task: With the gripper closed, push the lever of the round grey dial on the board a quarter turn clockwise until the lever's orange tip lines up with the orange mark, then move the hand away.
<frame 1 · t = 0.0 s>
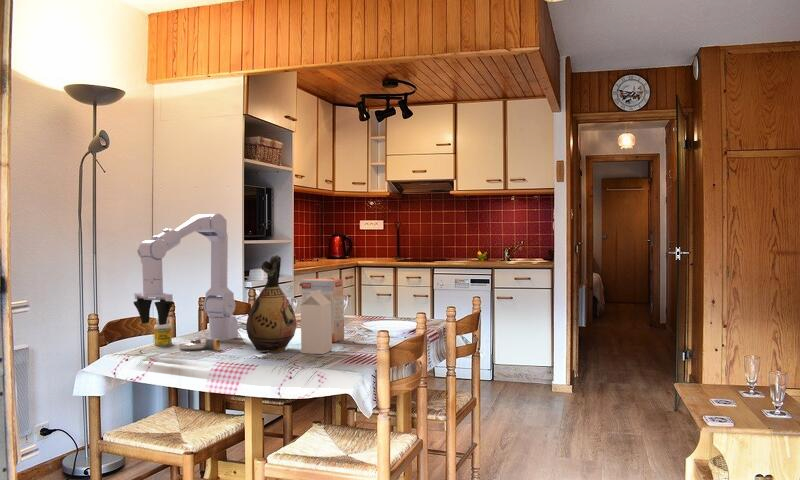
hand: (154, 323, 204), 10 cm above the table, tool pointing down, fingers open, 7 cm apart
dial: (201, 343, 212), point 3 cm above the table, hinge at 90.0°
cracker box: (323, 340, 229), on the table
milk carton: (316, 352, 207), on the table
ceramic jug: (272, 350, 212), on the table
board: (196, 351, 213), on the table
supplement bottle: (163, 347, 221), on the table
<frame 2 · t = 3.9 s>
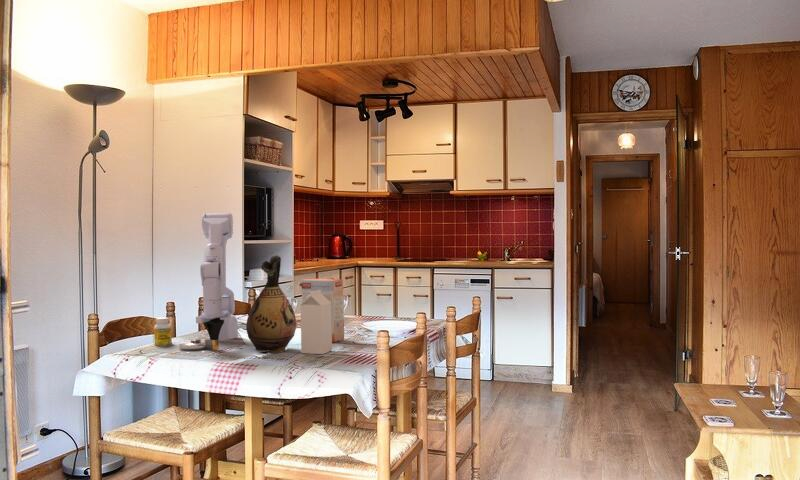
hand: (214, 343, 210), 3 cm above the table, tool pointing down, fingers closed, pressing on dial
dial: (200, 343, 211), point 3 cm above the table, hinge at 87.0°, touching gripper
everything else where it was.
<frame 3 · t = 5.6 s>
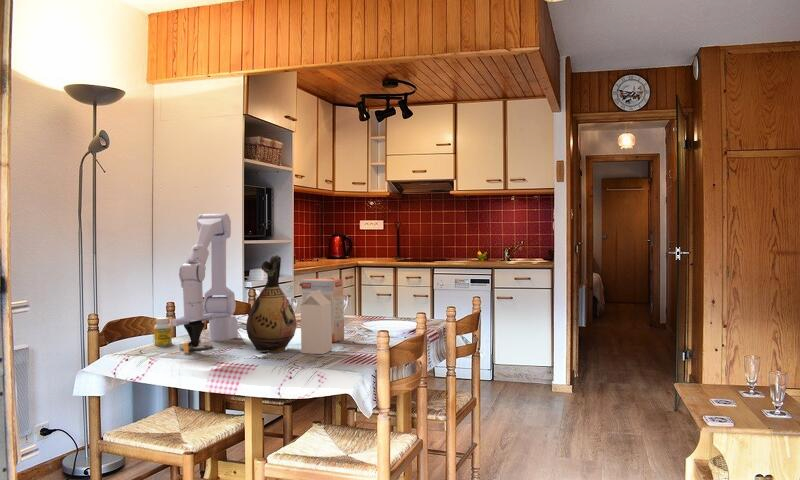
hand: (194, 346, 206), 3 cm above the table, tool pointing down, fingers closed, pressing on dial
dial: (193, 344, 210), point 3 cm above the table, hinge at 28.1°, touching gripper
everything else where it was.
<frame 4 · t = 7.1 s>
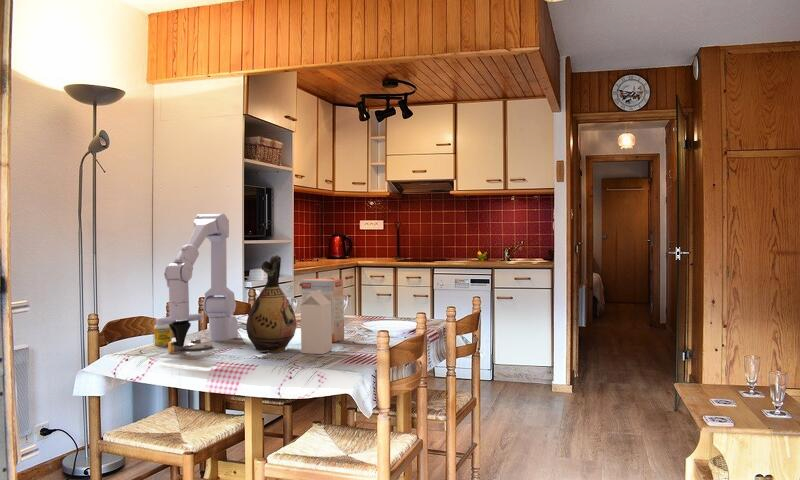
hand: (180, 346, 206), 3 cm above the table, tool pointing down, fingers closed, pressing on dial
dial: (189, 343, 211), point 3 cm above the table, hinge at -8.3°, touching gripper
everything else where it was.
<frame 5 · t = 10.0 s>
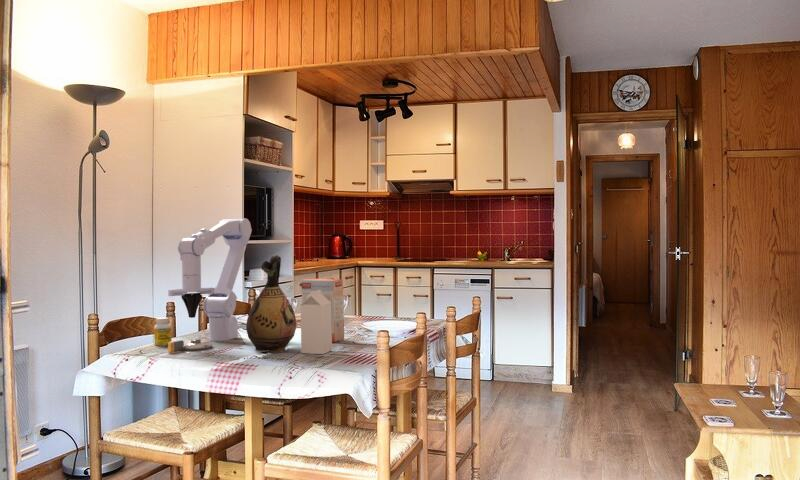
hand: (192, 317, 215), 10 cm above the table, tool pointing down, fingers closed
dial: (189, 343, 211), point 3 cm above the table, hinge at -8.4°
everything else where it was.
at the end: dial at -8° (first picture: +90°) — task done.
